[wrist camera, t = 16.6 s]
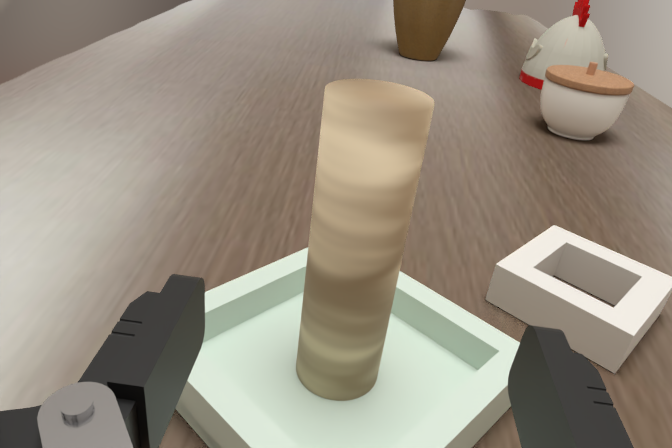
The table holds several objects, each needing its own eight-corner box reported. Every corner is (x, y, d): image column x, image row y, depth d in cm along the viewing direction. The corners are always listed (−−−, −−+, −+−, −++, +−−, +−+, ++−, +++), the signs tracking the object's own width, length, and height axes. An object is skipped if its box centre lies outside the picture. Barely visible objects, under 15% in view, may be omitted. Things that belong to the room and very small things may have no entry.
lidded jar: (521, 131, 71) (542, 59, 66) (540, 113, 79) (560, 48, 75) (606, 154, 67) (634, 79, 62) (617, 133, 75) (643, 65, 70)
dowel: (337, 415, 26) (387, 120, 19) (279, 364, 29) (302, 85, 21) (393, 372, 29) (456, 102, 22) (336, 329, 32) (374, 74, 24)
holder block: (614, 373, 32) (634, 335, 31) (485, 299, 37) (496, 264, 36) (660, 313, 38) (677, 279, 37) (542, 257, 43) (554, 225, 42)
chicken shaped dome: (588, 81, 102) (617, -3, 95) (608, 101, 90) (642, 6, 83) (515, 70, 103) (537, -14, 96) (524, 89, 92) (550, -6, 84)
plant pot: (460, 70, 98) (481, -25, 91) (379, 59, 99) (393, -36, 91) (452, 53, 111) (470, -32, 103) (381, 43, 112) (393, -41, 104)
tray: (335, 591, 20) (344, 546, 19) (138, 366, 29) (133, 323, 27) (522, 393, 30) (538, 354, 29) (333, 269, 39) (338, 234, 37)
